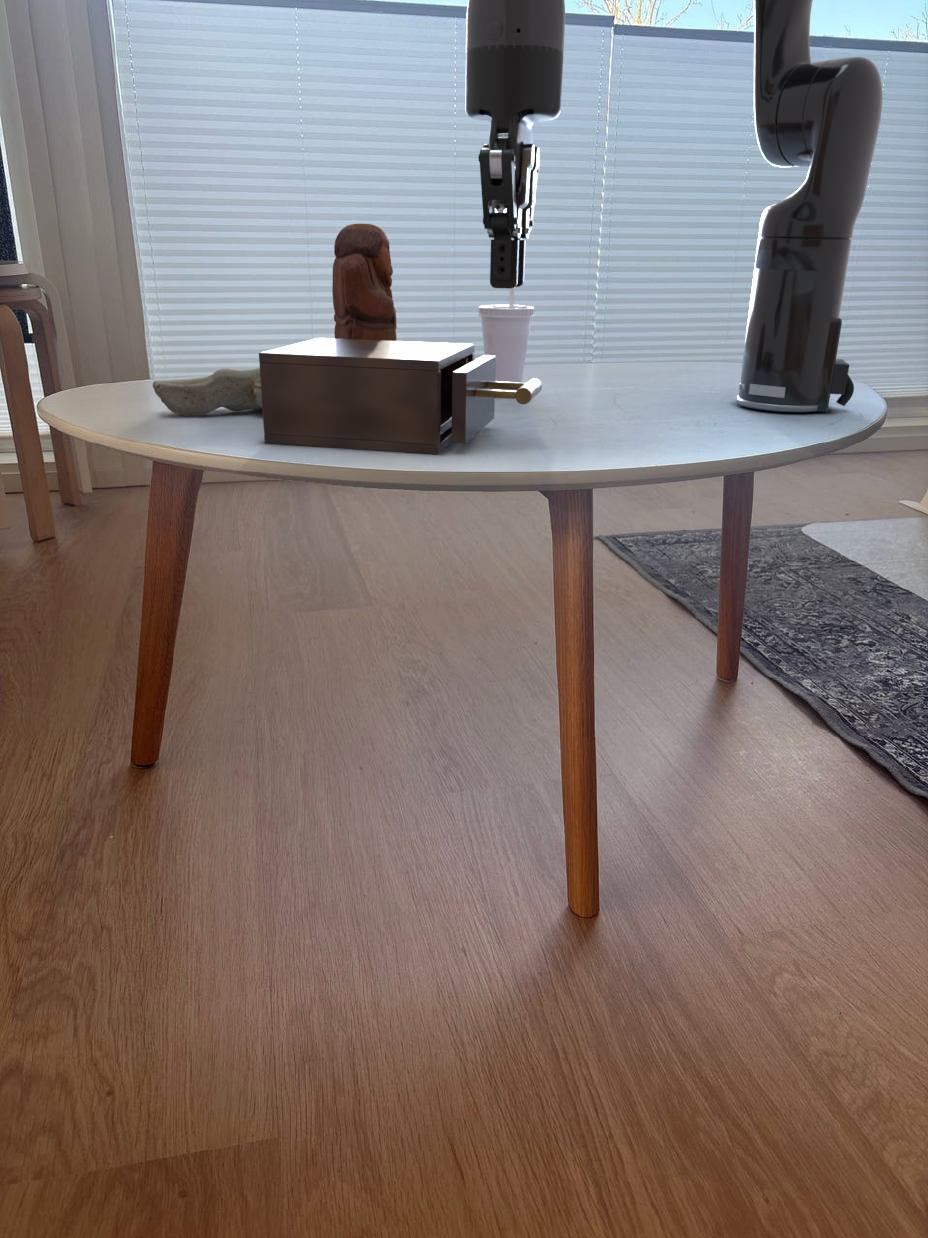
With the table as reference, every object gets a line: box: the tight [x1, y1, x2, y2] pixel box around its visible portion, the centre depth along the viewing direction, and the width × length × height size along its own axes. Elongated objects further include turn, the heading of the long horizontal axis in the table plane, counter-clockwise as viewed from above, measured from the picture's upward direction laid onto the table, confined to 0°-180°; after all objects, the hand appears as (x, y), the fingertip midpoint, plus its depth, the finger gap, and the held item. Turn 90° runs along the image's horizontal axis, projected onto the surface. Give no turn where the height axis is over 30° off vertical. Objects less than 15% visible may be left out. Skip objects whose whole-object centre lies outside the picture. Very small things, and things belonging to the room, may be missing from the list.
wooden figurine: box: [331, 223, 398, 341], centre depth 101 cm, size 12×6×18 cm, turn 15°
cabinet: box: [258, 337, 475, 455], centre depth 84 cm, size 16×14×8 cm
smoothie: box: [477, 287, 535, 391], centre depth 106 cm, size 6×6×14 cm
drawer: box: [440, 354, 543, 445], centre depth 83 cm, size 19×12×6 cm, turn 77°
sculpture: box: [152, 367, 262, 417], centre depth 94 cm, size 7×5×15 cm
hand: (507, 285), depth 78 cm, fingers closed
